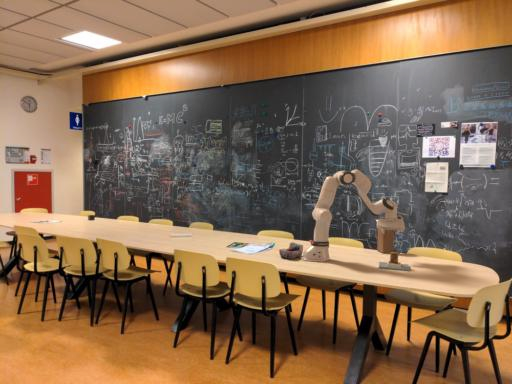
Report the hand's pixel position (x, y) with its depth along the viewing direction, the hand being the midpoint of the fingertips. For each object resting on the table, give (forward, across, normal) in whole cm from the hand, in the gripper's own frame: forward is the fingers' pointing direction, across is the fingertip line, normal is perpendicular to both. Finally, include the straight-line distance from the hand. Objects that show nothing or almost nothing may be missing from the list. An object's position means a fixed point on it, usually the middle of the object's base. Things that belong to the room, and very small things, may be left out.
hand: (390, 233), depth 283 cm
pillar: (+25, +3, +4) cm, 26 cm away
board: (+26, +4, +5) cm, 27 cm away
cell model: (+26, -72, +7) cm, 77 cm away
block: (-12, -2, +42) cm, 44 cm away
